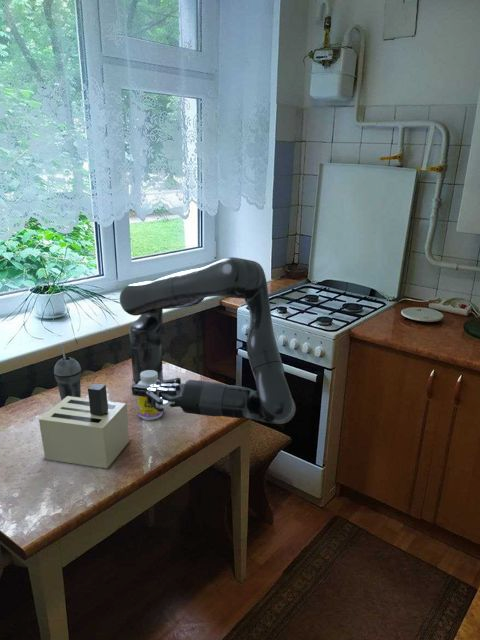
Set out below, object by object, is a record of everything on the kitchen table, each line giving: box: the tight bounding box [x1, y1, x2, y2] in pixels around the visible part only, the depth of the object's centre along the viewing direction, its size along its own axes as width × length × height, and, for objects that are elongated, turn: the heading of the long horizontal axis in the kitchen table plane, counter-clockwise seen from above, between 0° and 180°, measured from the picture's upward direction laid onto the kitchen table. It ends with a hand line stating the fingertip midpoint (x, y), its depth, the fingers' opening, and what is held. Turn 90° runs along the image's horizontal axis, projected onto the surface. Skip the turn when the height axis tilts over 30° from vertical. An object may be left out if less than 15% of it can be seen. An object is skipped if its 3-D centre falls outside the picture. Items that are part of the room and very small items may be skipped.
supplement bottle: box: [137, 370, 164, 421], centre depth 137 cm, size 7×7×13 cm
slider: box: [87, 382, 108, 416], centre depth 116 cm, size 3×3×7 cm
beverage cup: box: [53, 344, 82, 402], centre depth 137 cm, size 7×7×20 cm
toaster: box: [38, 396, 130, 469], centre depth 120 cm, size 12×16×11 cm
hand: (133, 389), depth 113 cm, fingers closed
